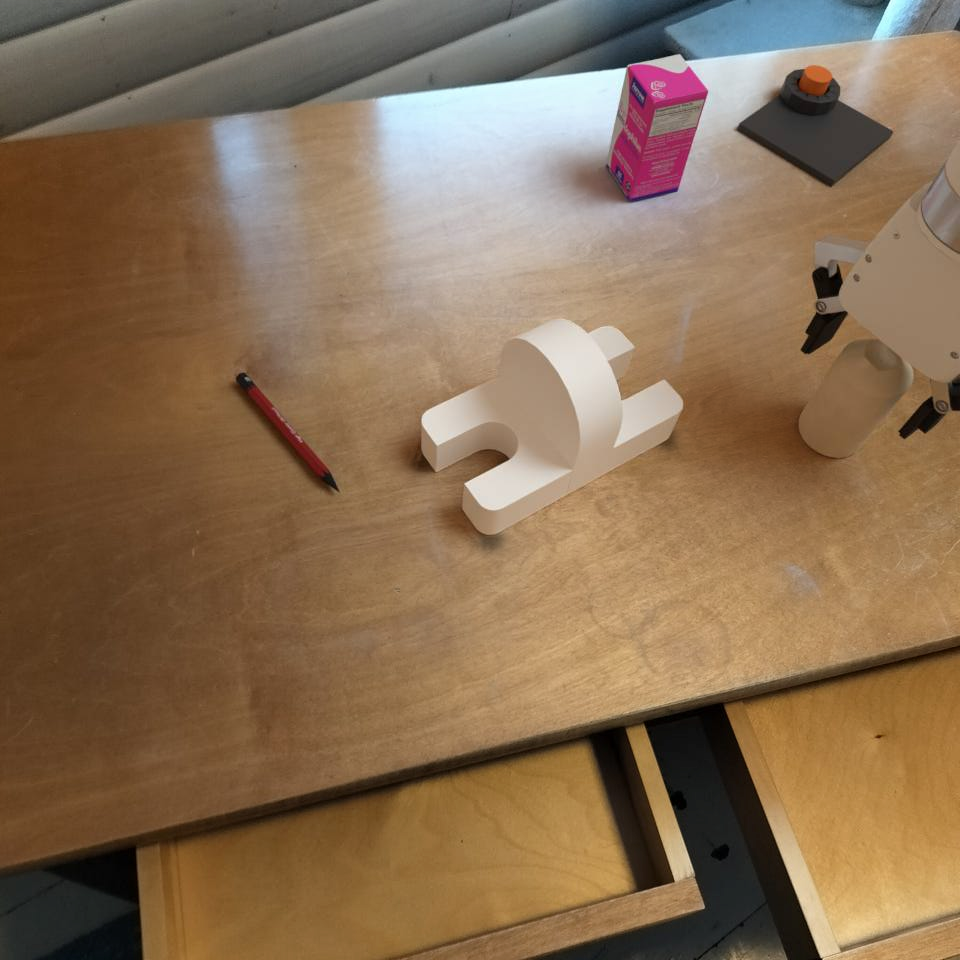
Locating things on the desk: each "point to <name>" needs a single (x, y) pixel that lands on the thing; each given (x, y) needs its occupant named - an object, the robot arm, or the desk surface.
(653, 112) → the supplement box
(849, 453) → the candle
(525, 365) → the bracket
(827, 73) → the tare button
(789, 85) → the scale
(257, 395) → the pencil
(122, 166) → the desk surface
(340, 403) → the desk surface
